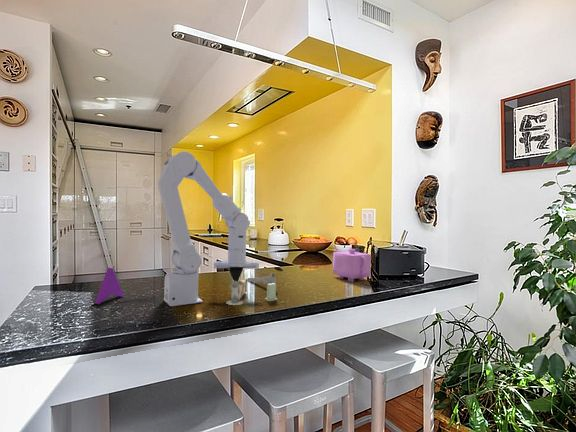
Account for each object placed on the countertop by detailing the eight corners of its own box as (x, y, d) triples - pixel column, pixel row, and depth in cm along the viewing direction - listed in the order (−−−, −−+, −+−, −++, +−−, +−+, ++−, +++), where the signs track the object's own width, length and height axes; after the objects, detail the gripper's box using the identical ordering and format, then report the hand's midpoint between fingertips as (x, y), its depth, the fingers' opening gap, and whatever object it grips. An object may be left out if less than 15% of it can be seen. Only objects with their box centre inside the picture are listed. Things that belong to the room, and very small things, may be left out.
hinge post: (230, 306, 96) (231, 283, 96) (223, 302, 100) (224, 279, 100) (246, 304, 99) (246, 281, 99) (238, 300, 103) (239, 278, 103)
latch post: (268, 301, 103) (268, 285, 103) (264, 299, 105) (265, 283, 105) (277, 300, 105) (277, 284, 104) (273, 298, 106) (274, 282, 106)
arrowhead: (111, 315, 100) (90, 297, 93) (107, 314, 100) (86, 296, 94) (130, 286, 106) (112, 267, 100) (126, 285, 107) (108, 267, 100)
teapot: (374, 281, 136) (375, 250, 136) (356, 284, 131) (357, 252, 130) (341, 272, 153) (342, 245, 153) (324, 274, 148) (325, 246, 147)
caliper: (276, 291, 116) (276, 273, 116) (273, 292, 115) (273, 274, 115) (248, 280, 133) (248, 265, 132) (245, 281, 132) (246, 265, 132)
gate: (239, 300, 101) (239, 286, 101) (232, 300, 101) (233, 286, 101) (246, 291, 112) (246, 278, 112) (240, 291, 113) (241, 278, 112)
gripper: (212, 250, 105) (211, 293, 105) (259, 250, 106) (257, 293, 106) (216, 247, 112) (215, 287, 112) (259, 248, 113) (258, 288, 113)
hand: (236, 290), depth 110 cm, fingers closed
